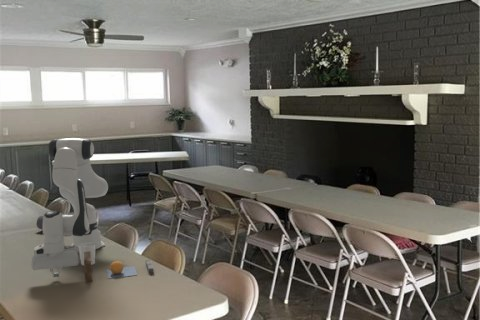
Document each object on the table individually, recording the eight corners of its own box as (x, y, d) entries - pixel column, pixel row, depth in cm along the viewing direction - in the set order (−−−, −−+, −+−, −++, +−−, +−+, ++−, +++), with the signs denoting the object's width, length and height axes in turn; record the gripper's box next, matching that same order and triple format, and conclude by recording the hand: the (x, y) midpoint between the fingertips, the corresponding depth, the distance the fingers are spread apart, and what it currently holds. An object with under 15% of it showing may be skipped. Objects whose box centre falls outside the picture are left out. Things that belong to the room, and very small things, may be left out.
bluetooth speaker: (36, 232, 324) (35, 216, 323) (45, 228, 333) (44, 213, 332) (67, 234, 318) (66, 218, 317) (76, 230, 327) (75, 215, 326)
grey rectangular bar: (145, 265, 254) (145, 260, 254) (149, 264, 255) (149, 259, 255) (149, 274, 241) (149, 269, 241) (153, 273, 242) (153, 268, 241)
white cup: (79, 267, 254) (78, 247, 253) (80, 262, 262) (78, 243, 261) (96, 265, 256) (95, 245, 255) (96, 260, 264) (95, 241, 263)
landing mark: (106, 270, 249) (106, 269, 249) (134, 266, 252) (134, 266, 252) (108, 278, 236) (108, 278, 236) (137, 275, 240) (137, 274, 240)
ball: (121, 257, 245) (125, 269, 246) (108, 261, 244) (112, 273, 246) (120, 261, 239) (124, 273, 240) (107, 265, 239) (111, 277, 240)
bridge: (85, 282, 232) (84, 261, 231) (85, 271, 247) (83, 252, 246) (92, 281, 233) (91, 260, 232) (91, 271, 248) (90, 251, 246)
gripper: (78, 243, 240) (80, 271, 242) (31, 247, 234) (33, 277, 236) (78, 246, 234) (80, 276, 236) (29, 251, 228) (32, 281, 230)
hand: (56, 276), depth 236 cm, fingers closed
